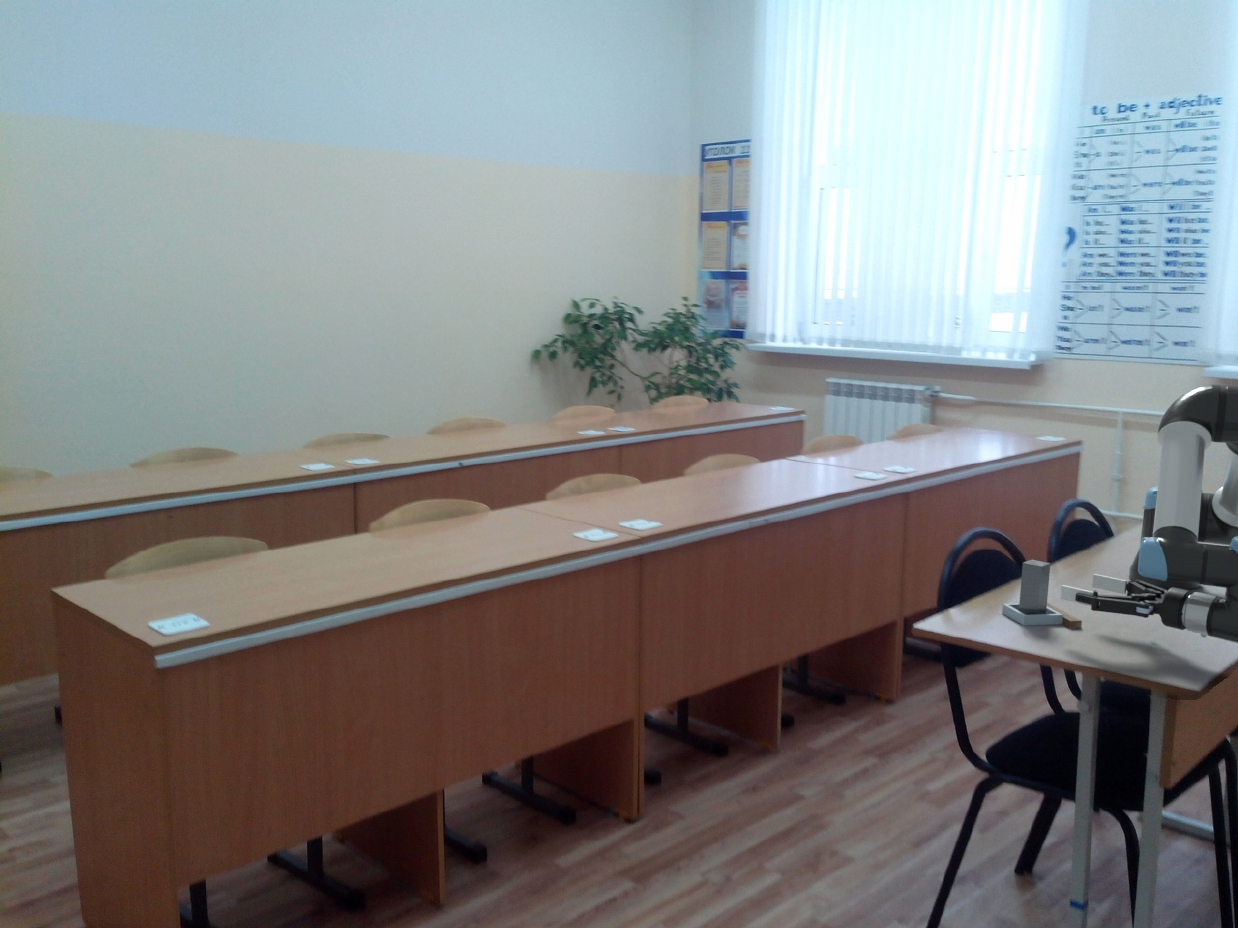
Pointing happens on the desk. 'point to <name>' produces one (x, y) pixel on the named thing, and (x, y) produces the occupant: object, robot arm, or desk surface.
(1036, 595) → the bar
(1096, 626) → the desk surface
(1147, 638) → the desk surface
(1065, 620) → the sill strip
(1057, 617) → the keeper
